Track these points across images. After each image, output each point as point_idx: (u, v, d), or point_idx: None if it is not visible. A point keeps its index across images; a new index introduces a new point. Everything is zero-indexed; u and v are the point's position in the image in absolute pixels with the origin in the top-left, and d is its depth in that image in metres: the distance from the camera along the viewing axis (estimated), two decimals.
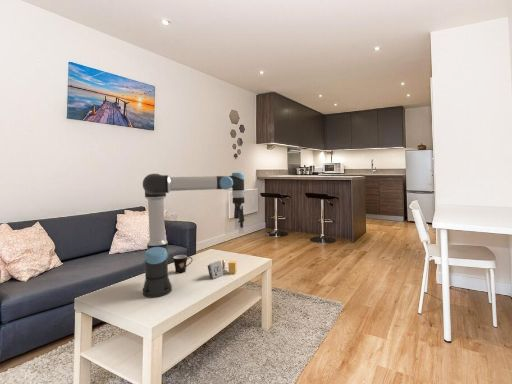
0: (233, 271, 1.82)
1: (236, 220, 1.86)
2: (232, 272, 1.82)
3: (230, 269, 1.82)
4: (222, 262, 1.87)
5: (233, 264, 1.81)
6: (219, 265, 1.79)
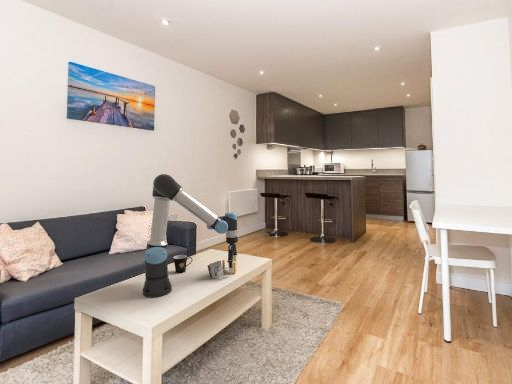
0: (233, 271, 1.82)
1: (233, 257, 1.90)
2: None
3: None
4: (222, 262, 1.87)
5: (233, 264, 1.81)
6: (219, 265, 1.79)
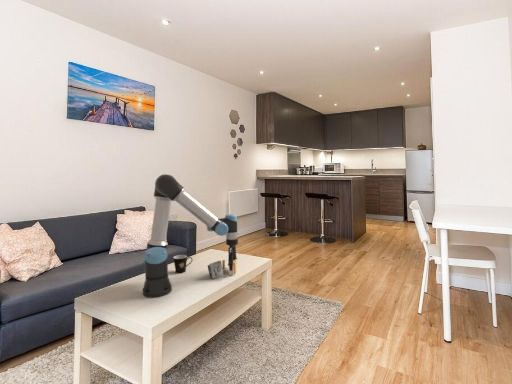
0: None
1: None
2: None
3: None
4: (222, 262, 1.87)
5: (233, 264, 1.81)
6: (219, 265, 1.79)
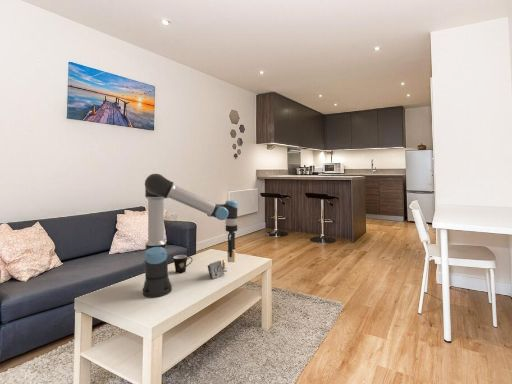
0: None
1: None
2: None
3: None
4: (222, 262, 1.87)
5: None
6: (219, 265, 1.79)
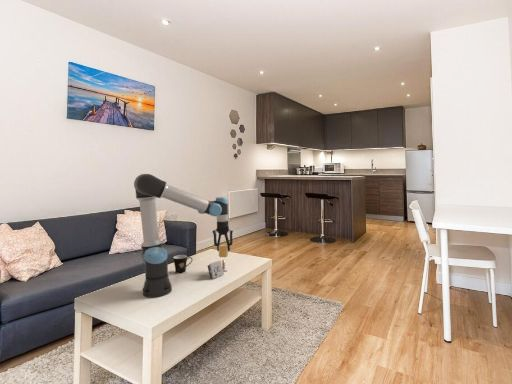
0: None
1: None
2: None
3: (226, 252, 1.86)
4: (222, 262, 1.87)
5: None
6: (219, 265, 1.79)
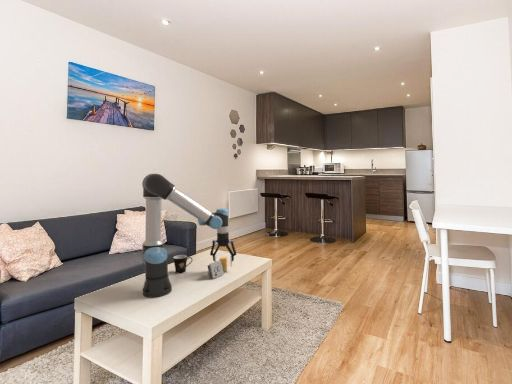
0: (227, 265, 1.88)
1: (216, 257, 1.87)
2: (227, 267, 1.88)
3: (226, 264, 1.86)
4: None
5: None
6: (219, 265, 1.79)
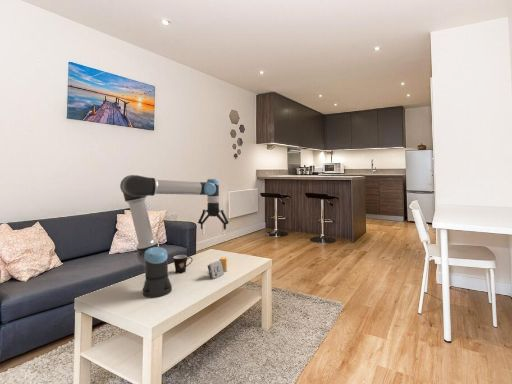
0: (227, 265, 1.88)
1: (203, 226, 1.88)
2: (227, 267, 1.88)
3: (226, 264, 1.86)
4: None
5: None
6: (219, 265, 1.79)
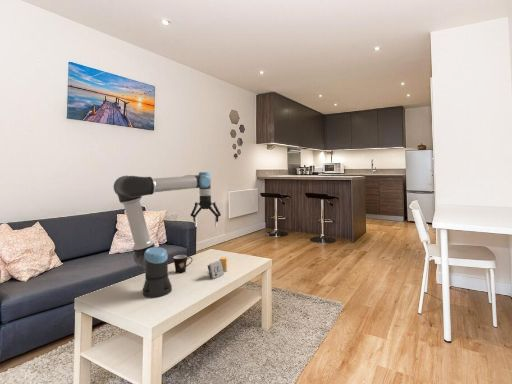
0: (227, 265, 1.88)
1: (196, 218, 1.91)
2: (227, 267, 1.88)
3: (226, 264, 1.86)
4: None
5: None
6: (219, 265, 1.79)
